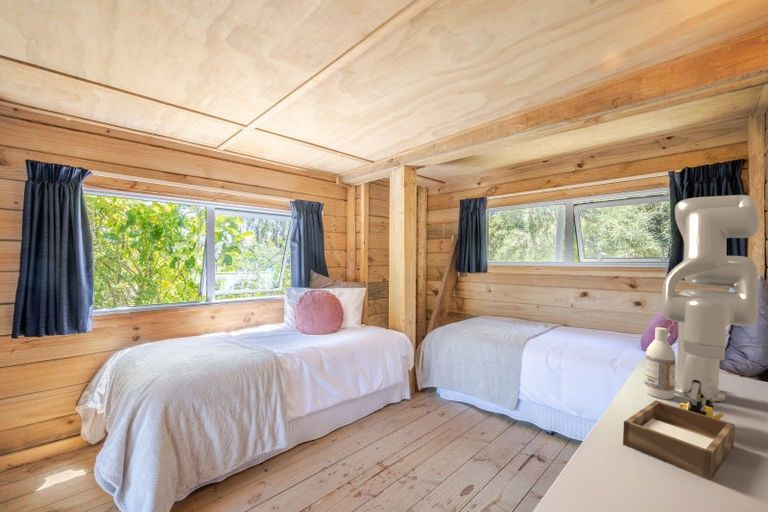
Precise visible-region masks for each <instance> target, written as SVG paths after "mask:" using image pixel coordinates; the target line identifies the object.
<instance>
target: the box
mask: <svg viewBox="0 0 768 512" xmlns="http://www.w3.org/2000/svg"><path fill="white" fill-rule="evenodd" d="M651 419H655V420H658V421H661V422H664V423H667V424H670V425H673V426H676V427H679V428H682V429H684V430H687V431H690V432H693V433H696V434H699V435H702V436H705V437H708V438H711V439H714V440H713V441H712V442H711V443H710V445H709V446H708V447H707V448H706V449H704V448H701V447H699V446H696V445H693V444H690V443H688V442H685V441H682V440H679V439H676V438H674V437H671V436H668V435H665V434H663V433H660V432H657V431H654V430H651V429H649V428H646V427H643V425H644V424H645V423H647V422H648V421H650V420H651ZM622 432H623V434H622V435H623V438H622V445H623V444H624V445H623V446H626V447H628V448H631V449H633V450H636V451H638V452H641V453H643V454H645V455H648V456H650V457H653V458H655V459H657V460H659V461H663V462H664V463H668V464H670V465H672V466H674V467H677V468H679V469H682V470H684V471H687V472H689V473H692V474H695V475H696V476H699V477H701V478H704V479H707V480H709V481H711V480H712V479H713V477H714V476H715V474H716V473H717V471H719V469H720V467H721V466H722V465H723V463H724V461H725V460H726V458H727V457H728V456H729V454H730V453H731V451H732V450H733V448H734V446H735V445H734V443H735V423H733V422H728V421H725V420H722V419H716V418H712V417H709V416H706V415H702V414H699V413H696V412H692V411H689V410H686V409H685V408H683V409H682V408H680V406H675V405H672V404H668V403H665V402H663V401H659V400H654V401H653V402H651V403H650V404H648V405H646V406H645V407H644V408H642V409H641V410H639V411H638V412H636V413H635V414H633V415H632V416H630V417H628V418H627V419H625V420H624V421H623V431H622Z"/></svg>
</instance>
